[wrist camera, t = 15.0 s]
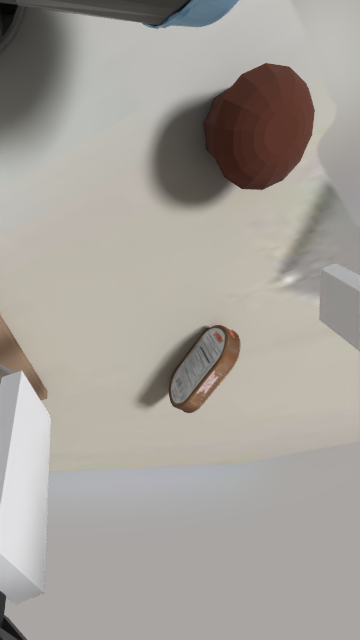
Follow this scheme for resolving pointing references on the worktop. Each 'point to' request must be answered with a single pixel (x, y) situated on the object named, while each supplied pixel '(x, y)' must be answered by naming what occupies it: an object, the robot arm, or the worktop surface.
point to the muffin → (260, 126)
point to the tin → (204, 368)
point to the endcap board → (17, 361)
